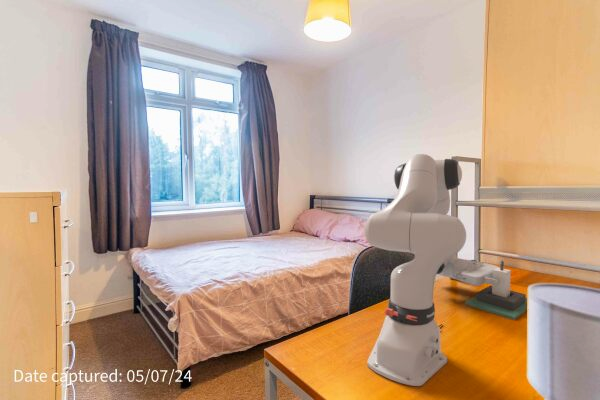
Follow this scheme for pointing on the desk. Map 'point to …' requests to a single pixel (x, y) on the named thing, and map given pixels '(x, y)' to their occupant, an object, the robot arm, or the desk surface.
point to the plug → (502, 281)
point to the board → (497, 309)
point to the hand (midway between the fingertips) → (503, 279)
